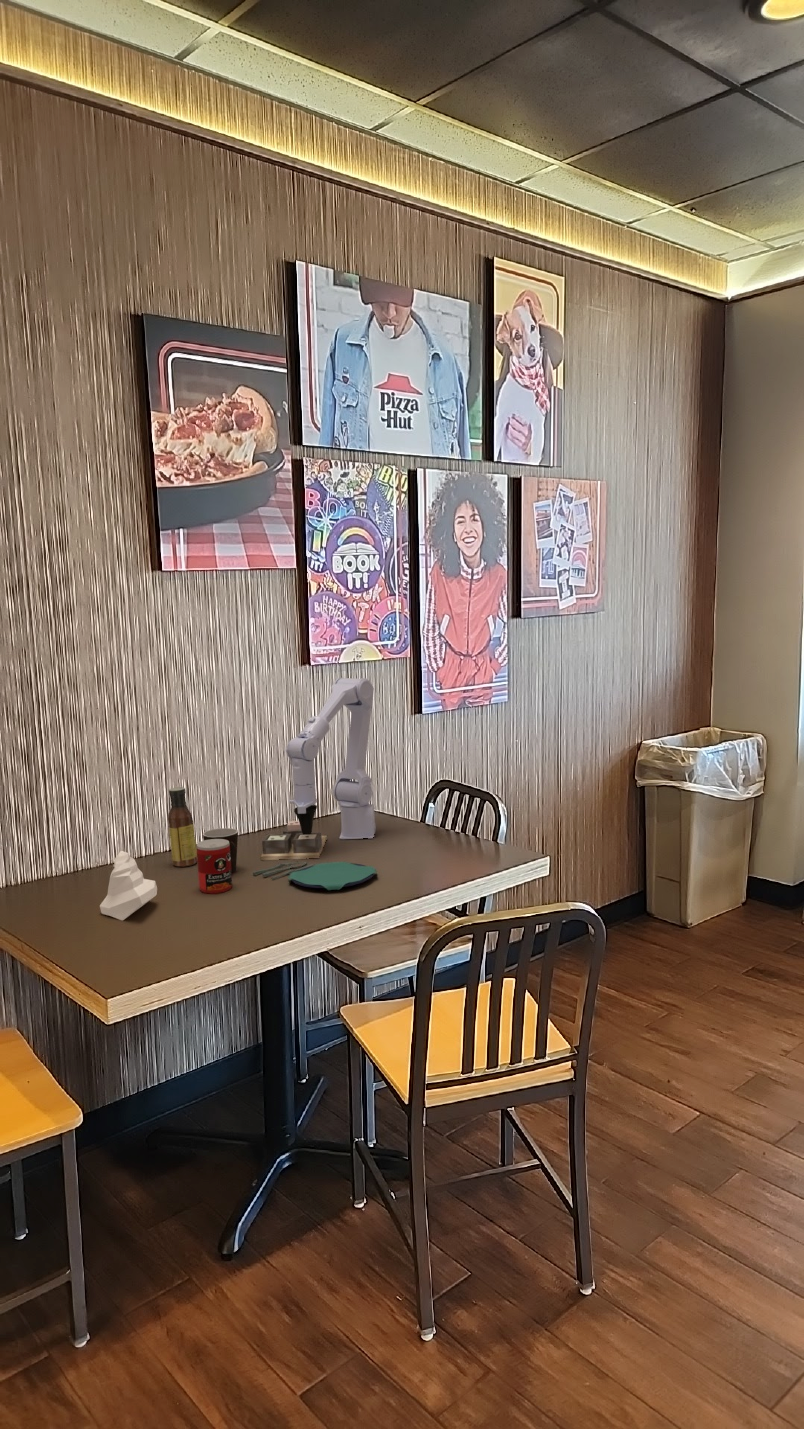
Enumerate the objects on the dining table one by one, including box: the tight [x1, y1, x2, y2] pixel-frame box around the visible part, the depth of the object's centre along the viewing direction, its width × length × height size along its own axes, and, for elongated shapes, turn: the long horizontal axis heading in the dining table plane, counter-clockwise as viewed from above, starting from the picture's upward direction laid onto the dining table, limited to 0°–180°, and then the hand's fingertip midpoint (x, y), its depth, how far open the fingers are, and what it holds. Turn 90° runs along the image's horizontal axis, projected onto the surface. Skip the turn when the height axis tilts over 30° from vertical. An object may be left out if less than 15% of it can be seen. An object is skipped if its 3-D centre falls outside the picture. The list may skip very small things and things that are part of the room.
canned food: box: [196, 839, 233, 894], centre depth 225 cm, size 8×8×11 cm
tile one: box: [298, 834, 317, 839], centre depth 252 cm, size 4×4×3 cm
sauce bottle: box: [167, 786, 198, 868], centre depth 245 cm, size 6×6×20 cm
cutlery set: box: [252, 860, 378, 891], centre depth 231 cm, size 20×30×2 cm, turn 50°
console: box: [260, 825, 328, 861], centre depth 256 cm, size 15×19×4 cm
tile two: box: [268, 835, 287, 840], centre depth 252 cm, size 4×4×3 cm
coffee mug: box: [202, 827, 239, 874], centre depth 236 cm, size 12×9×10 cm
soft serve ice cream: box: [99, 850, 158, 921], centre depth 212 cm, size 12×15×14 cm
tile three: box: [286, 820, 301, 831], centre depth 261 cm, size 4×4×3 cm
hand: (307, 834), depth 252 cm, fingers closed
